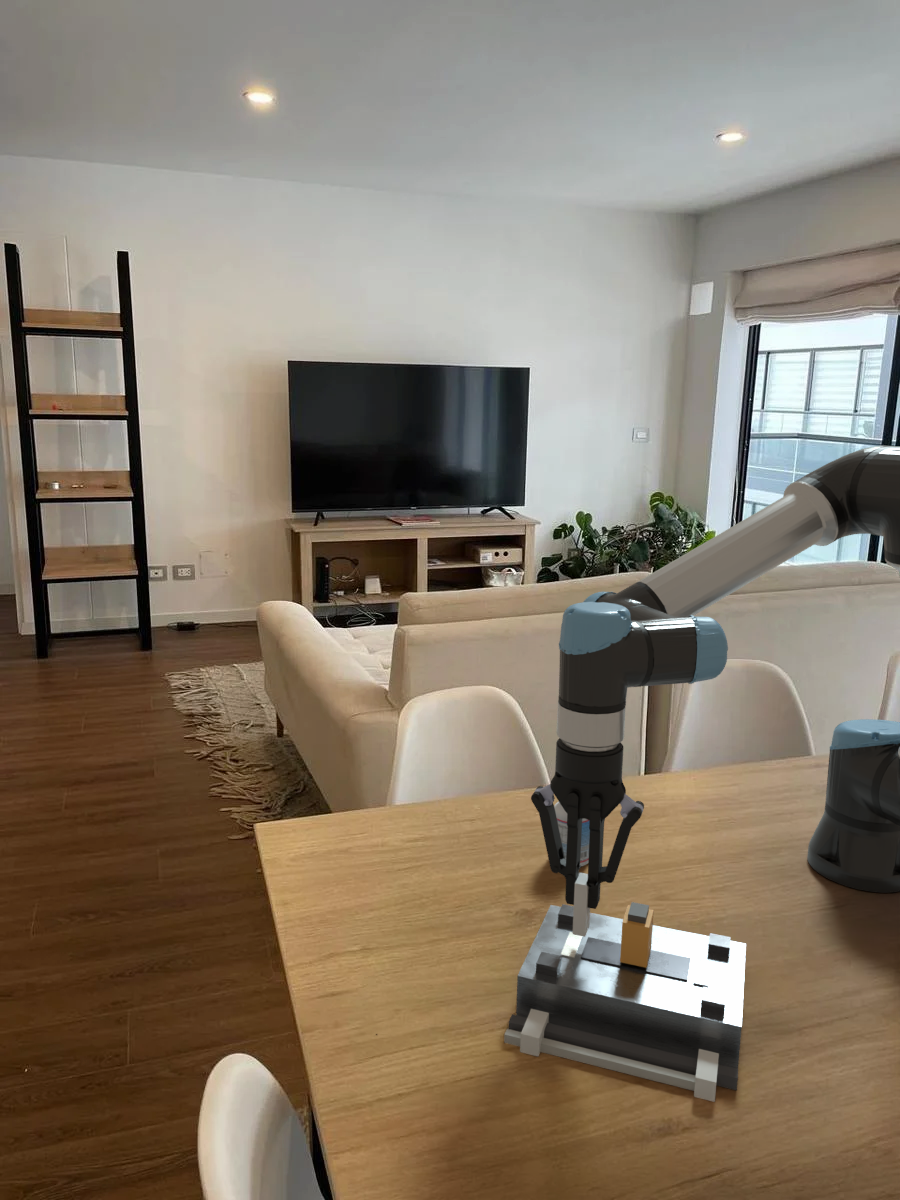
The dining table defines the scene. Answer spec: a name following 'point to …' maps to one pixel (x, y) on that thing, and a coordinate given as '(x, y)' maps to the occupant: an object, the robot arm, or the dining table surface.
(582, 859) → the pill bottle
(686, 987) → the panel
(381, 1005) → the dining table surface
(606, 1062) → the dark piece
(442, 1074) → the dining table surface
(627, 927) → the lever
